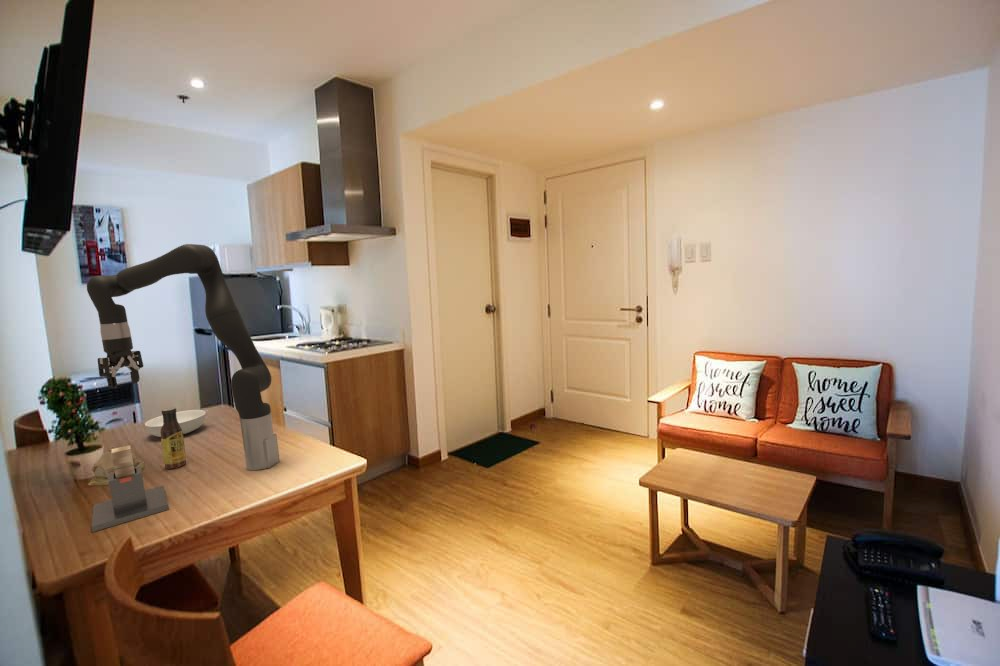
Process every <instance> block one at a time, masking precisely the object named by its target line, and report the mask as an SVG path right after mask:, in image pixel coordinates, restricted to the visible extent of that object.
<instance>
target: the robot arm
mask: <svg viewBox="0 0 1000 666" xmlns="http://www.w3.org/2000/svg"><path fill="white" fill-rule="evenodd" d="M183 274H191V275H193V274H194V275H196V274H197V276H198V277H199V279H200V282H201V283H202V285H203V288H204V292H205V302H204V303H205V304H204V305H205V306H204V310H205V311H204V312H205V318H206V320H207V322H208V324H209V326H210V328H211V330H212V332H213V335H214V336H215V337H216V338H217V339H218V340H219V341H220V342H221V343H222V344H223V345H224V346H225V347H227V349H229V351H231V353H233V355H234V356H235V357H236V359H237V361H238V363H239V365H240V367H241V369H238V370H237V371H235V372H234V373H233V375H232V377H231V381H230V384H231V385H230V386H231V392H232V399H233V403H234V407H235V409H236V411H237V413H238V416H239V423H240V429H241V430H240V431H241V436H242V437H241V438H242V445H243V454H244V460H245V468H246V470H249V471H260V470H265V469H270V468H272V467H273V466H275V465H276V464H277V463H279V462H280V461H281V460H280V459H281V458H280V451H279V443H278V435H277V433H274V426H273V417H272V411H271V410H272V409H271V405H270V404H269V403H267V402H264V401H263V398H262V392H264V391H266V390H267V389H270V386H271V384H272V375H271V372H270V370H269V367H268V366H267V364H266V363H265V361H264V359H263V358H262V356H261V355H260V353H259V351H258V350H257V347H256V345H255V343H254V341H253V340H252V337H251V335H250V333H249V331H248V329H247V327H246V324H245V322H244V320H243V317H242V315H241V313H240V311H239V309H238V307H237V305H236V302H235V300H234V298H233V296H232V294H231V291H230V289H229V287H228V285H227V283H226V280H225V277H224V274H223V271H222V267H221V265H220V261H219V258H218V257H217V254H216V253H215V251H214V249H212V248H211V247H209V246H208V245H205V244H204V245H203V244H192V243H186V244H182V245H179V246H176V247H175V248H174V249H171V250H170V251H168V252H166V253H165V254H162V255H161V256H158V257H156V258H154V259H152V260H149V261H146V262H142V263H139V264H136V265H133V266H129V267H126V268H123V269H121V270H120V271H119V272H117V274H112V275H110V274H109V275H94V276H92V277H89V279H88V281H87V283H86V291H87V295H88V296H89V298H90V300H91V302H92V303H93V306H94V308H95V310H96V311H97V315H98V320H99V327H100V328H99V329H100V332H99V333H100V337H101V342H102V349H103V352H104V353H105V354H106V357H97V365H98V366H97V367H98V368H97V369H98V373H99V374H98V375H99V377H103V378H106V382H107V386H108V388H109V389H117V388H118V383H117V377H116V375H117V372H118V371H119V370H120V369H122V368H124V367H126V368H127V369H128V370H129V371H130V372H129V373H130V374H129V375H130V380H131V382H132V383H138V382H140V373H139V371H140V369H142V368H144V362H143V358H142V354H141V351H140V350H133V349H134V344H133V339H132V334H131V329H130V326H129V321H128V315H127V312H126V311H127V310H126V308H125V306H124V305H123V304H119V303H118V304H117V303H116V302H115V300H113V298H119V297H122V296H125V295H128V294H130V293H131V292H133V291H135V290H139V289H142V288H146V287H149V286H152V285H153V284H156V283H157V282H159V281H161V280H162V279H164V278H166V277H168V276H169V277H170V276H173V275H174V276H175V275H183Z"/></svg>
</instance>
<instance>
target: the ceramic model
mask: <svg viewBox="0 0 1000 666" xmlns="http://www.w3.org/2000/svg"><path fill="white" fill-rule="evenodd" d="M112 449H115V447H111V448H108V451H106V452H104V453H103V454H101V456H100V457H99V458H98V460H97V461H96V462H95V463H94V464H93V466H92V468H91V469H90V470H91V471H92V473H94V474H93V475H94V477H92V479H91V480H90V482H88V484H87V485H88V486H90V487H92V486H109V473H113V472H115V470H114V464H113V459H112ZM131 453H132V459H133V465H134V467H138V466H141V471H142V472H143V471H144V470H145V462H144V461H143V460H142V461H141V460H140V461H139V460H137V461H136V459H137V456H136V455H135V453H134V452H133V451H132V450H131Z"/></svg>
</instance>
